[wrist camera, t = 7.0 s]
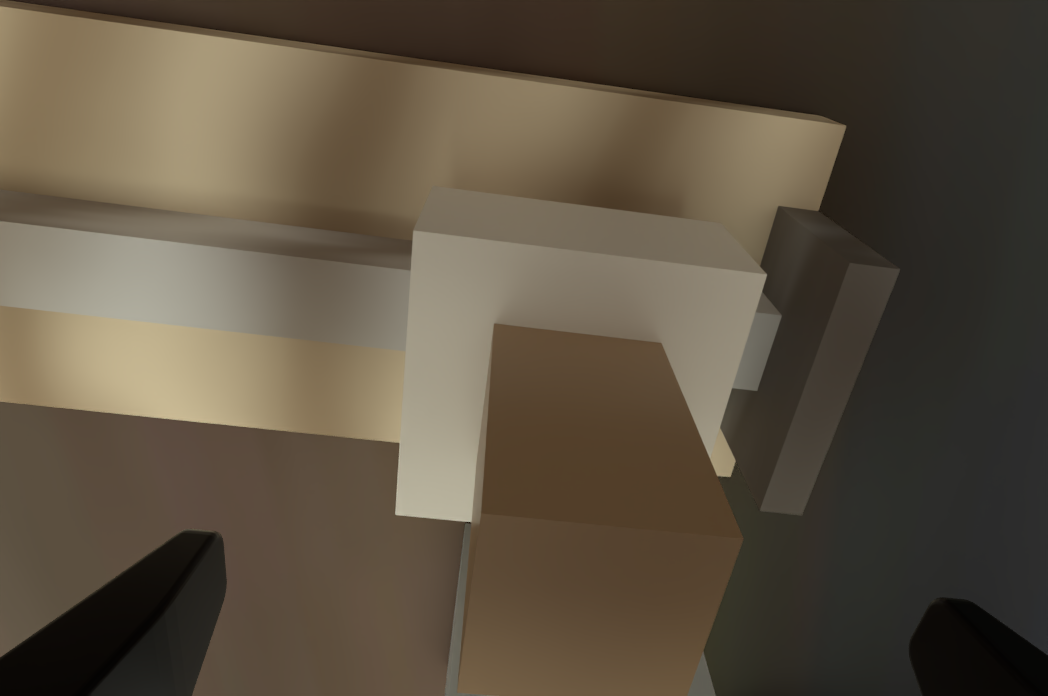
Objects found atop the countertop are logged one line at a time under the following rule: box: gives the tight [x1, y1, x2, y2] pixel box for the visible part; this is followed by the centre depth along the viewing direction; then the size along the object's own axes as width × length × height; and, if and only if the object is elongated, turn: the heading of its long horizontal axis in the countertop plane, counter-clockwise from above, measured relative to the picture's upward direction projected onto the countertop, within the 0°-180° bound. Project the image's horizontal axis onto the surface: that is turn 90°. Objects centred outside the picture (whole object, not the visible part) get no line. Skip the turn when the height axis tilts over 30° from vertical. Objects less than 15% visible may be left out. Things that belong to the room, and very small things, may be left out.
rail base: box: [0, 0, 900, 515], centre depth 16 cm, size 22×10×6 cm, turn 82°
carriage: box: [395, 186, 767, 696], centre depth 13 cm, size 6×6×9 cm
